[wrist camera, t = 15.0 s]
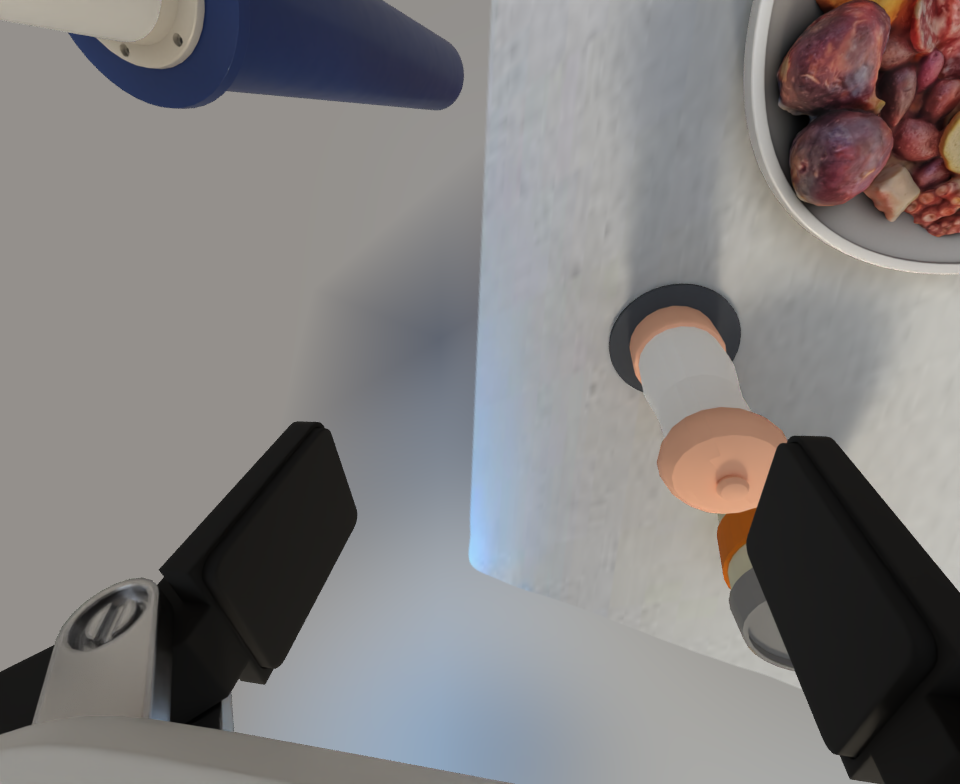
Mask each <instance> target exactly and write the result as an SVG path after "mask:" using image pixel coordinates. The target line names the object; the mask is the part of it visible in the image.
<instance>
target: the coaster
mask: <svg viewBox="0 0 960 784" xmlns="http://www.w3.org/2000/svg"><path fill="white" fill-rule="evenodd" d="M670 306H688V307H691V308H693V309H696V310H699V311H701V312H702V313H703V314H704V315H706V316H707V317H708V318H709V319H710V320H711V322H712V323H713V325H714V326H715V328H716V329H717V331H718V332H719V334H720V336H721V337H722V339H723V341H724V343H725V345H726V353H727V355H728V356H729V358H730V359H731V361H733V359H734V357H735V355H736V353H737V351H738V347H739V344H740V337H741V329H740V323H739V320H738V317H737V314H736V312H735V311H734V309H733V307H732V306H731V305H730V304H729V303H728V301H727V300H726V299H724V298H723V297H722V296H721V295H719V294H718V293H716V292H715V291H713V290H710V289H708V288H706V287H702V286H699V285H693V284H672V285H667V286H662V287H659V288H656V289H653V290H651V291H649V292H647V293H645V294H643V295H641V296H640V297H638V298H637V299H635V300H634V301H633V302H632V303H630V304H629V305H628V306H627V307H626V308H625V309H624V311H623V312H622V313H621V314H620V316H619V317H618V319H617V321H616V322H615V324H614V327H613V329H612V332H611V336H610V342H609V351H610V357H611V361H612V364H613V366H614V368H615V370H616V372H617V373H618V374H619V376H620V377H621V378H622V379H623V380H624V381H625V382H626V383H628V384H629V385H630V386H632V387H633V388H635V389H637V390H639V391H642V392H643V387H642V384H641V383H640V381H639V380H638V378H637V377H636V375H635V371H634V367H633V362H632V358H631V353H630V348H629V347H630V340H631V336H632V334H633V332H634V330H635V328H636V326H637V325H638V324H639V323H640V322H641V321H642V320H643V319H644V318H645V317H646V316H648V315H649V314H651V313H653V312H655V311H657V310H658V309H662V308H666V307H670Z"/></svg>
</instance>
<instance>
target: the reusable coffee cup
mask: <svg viewBox="0 0 960 784" xmlns="http://www.w3.org/2000/svg"><path fill="white" fill-rule="evenodd" d="M756 508H757V507H756ZM756 508H753V509H750V510H746V511H743V512H739V513H728V514H719V513H718V518H719V526H718V530H717V539H718V545H719V551H720V558H721V564H722V570H723V575H724V580H725V582H726V584H727V585H728V587H729V588H730V589H731V591H730V597H729V604H730V609H731V611H732V614H733V616H734V618H735V620H736V623H737V625H738V627H739V629H740V632H741V634H742V636H743V639H744V640H745V642H746V644H747V646H748V647H749V648H750V649H751V650H752V651H753V653H754V654H755V655H757V656H759V657H760V658H762V659H763V660H765V661H767V662H769V663H771V664H773V665H775V666H778V667H781V668H784V669H788V670H791V671H795V670H794V667H793V665H792V662H791V660H790V658H789V655H788V653H787V650H786V648H785V645H784V643H783V640H782V638H781V635H780V633H779V631H778V628H777V626H776V623H775V621H774V618H773V616H772V613H771V611H770V609H769V606H768V604H767V601H766V599H765V596H764V594H763V591H762V589H761V587H760V584H759V582H758V579H757V577H756V574H755V572H754V569H753V567H752V564H751V562H750V560H749V557H748V554H747V548H746V540H747V536H748V533H749V530H750V527H751V524H752V520H753V517H754V514H755V511H756Z"/></svg>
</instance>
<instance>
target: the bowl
mask: <svg viewBox="0 0 960 784" xmlns="http://www.w3.org/2000/svg"><path fill="white" fill-rule="evenodd" d="M743 87H744V105H745V115H746V121H747V128H748V132H749V137H750V141H751V145H752V148H753V151H754V154H755V158H756V160H757V163H758V165H759V168H760V170H761V172H762V174H763V176H764V178H765V180H766V182H767V184H768V186H769V188H770V189H771V191H772V193H773V194H774V196H775V197H776V198H777V200H778V201H779V202H780V204H781V205H782V206H783V208H784V209H785V210H786V211H787V212H788V213H789V214H790V216H791V217H792V218H793V219H794V220H795V221H796V222H798V223H799V224H800V225H801V226H802V227H803V228H804V229H805V230H807V231H808V232H809V233H811V234H812V235H813V236H815V237H816V238H818V239H819V240H821V241H822V242H824V243H825V244H827V245H829V246H831V247H833V248H834V249H836V250H838V251H840V252H842V253H844V254H847V255H849V256H851V257H853V258H856V259H858V260H861V261H864V262H867V263H869V264H873V265H876V266H880V267H884V268H888V269H893V270H898V271H905V272H912V273H923V274H960V0H753V4H752V9H751V13H750V18H749V24H748V30H747V37H746V45H745V55H744V73H743Z"/></svg>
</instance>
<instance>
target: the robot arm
mask: <svg viewBox="0 0 960 784" xmlns="http://www.w3.org/2000/svg"><path fill="white" fill-rule="evenodd" d="M204 13H205V4H204V0H0V20H3V21H9V22H14V23H20V24H25V25H31V26H36V27H42V28H48V29H54V30H59V31H65V32H70V33H75V34H81V35H87V36H92V37H96V38H97V39H98V40H99V41H100V42H101V43H102V44H103V45H104V46H106V47H107V48H108V49H109V50H110V51H111V52H113V53H114V54H116V55H117V56H119V57H120V58H122V59H123V60H126V61H128V62H130V63H132V64H134V65H137V66H142V67H146V68H154V69H166V68H171V67H174V66H176V65H178V64H180V63H182V62H183V61H184V60H186V59H187V58H188V57H189V56H190V55H191V54H192V52H193V50H194V48H195V47H196V45H197V43H198V41H199V38H200V35H201V31H202V28H203V21H204ZM356 521H357V509H356V506H355V504H354V500H353V497H352V494H351V491H350V488H349V485H348V483H347V479H346V476H345V473H344V471H343V467H342V464H341V461H340V458H339V455H338V452H337V450H336V447H335V443H334V441H333V437H332V435H331V432H330V431H329V430H328V429H325V428H324V426H323V425H322V424H321V423H319V422H294V423H292V424H291V425H290V426H289V427H288V428H287V429H286V431H285V432H284V433H283V434H282V435H281V436H280V437H279V438H278V439H277V440H276V441H275V443H274V444H273V445H272V446H271V447H270V448H269V449H268V450H267V451H266V452H265V454H264V455H263V456H262V457H261V458H260V459H259V460H258V461H257V462H256V463H255V465H254V466H253V467H252V468H251V469H250V470H249V471H248V472H247V473H246V474H245V476H244V477H243V478H242V479H241V480H240V481H239V482H238V483H237V485H235V487H234V488H233V489H232V490H231V491H230V492H229V493H228V494H227V495H226V497H225V498H224V499H223V500H222V501H221V502H220V503H219V504H218V505H217V506H216V507H215V509H214V510H213V511H212V512H211V513H210V514H209V515H208V516H207V517H206V518H205V520H204V521H203V522H202V523H201V524H200V525H199V526H198V527H197V529H196V530H195V531H194V532H193V533H192V534H191V535H190V536H189V537H188V538H187V539H186V540H185V542H184V543H183V544H182V545H181V546H180V547H179V548H178V549H177V550H176V551H175V553H174V554H173V555H172V556H171V557H170V558H169V559H168V560H167V561H166V563H165V564H164V565H163V566H162V567H161V568H160V569H159V571H160V572H161V573H162V575H164V578H163V579H162V580H161V581H160V582H159V584H158V585H156V584H155V583H154V582H153V581H152V580H150V579H146V578H136V579H129V580H125V581H123V582H119V583H116V584H114V585H112V586H110V587H108V588H106V589H104V590H102V591H100V592H99V593H97V594H96V595H94V596H93V597H92V598H90V599H89V600H87V601H86V602H85V603H84V604H83V605H81V606H80V607H79V608H78V609H77V610H76V611H75V612H74V613H73V614H72V615H71V616H70V617H69V619H68V620H67V621H66V622H65V624H64V625H63V626H62V628H61V630H60V633H59V634H58V636H57V639H56V641H55V645H53V646H51V647H49V648H47V649H45V650H43V651H42V652H39V653H37V654H35V655H33V656H31V657H29V658H27V659H25V660H23V661H21V662H19V663H17V664H15V665H13V666H11V667H9V668H7V669H5V670H3V671H1V672H0V784H513V783H507V782H502V781H497V780H491V779H486V778H480V777H475V776H470V775H465V774H460V773H454V772H449V771H444V770H438V769H433V768H427V767H422V766H417V765H411V764H406V763H401V762H395V761H389V760H385V759H379V758H374V757H368V756H363V755H357V754H352V753H346V752H341V751H335V750H330V749H325V748H319V747H313V746H308V745H302V744H296V743H292V742H286V741H280V740H275V739H270V738H264V737H258V736H253V735H247V734H242V733H237V732H234V723H233V710H232V695H231V691H232V689H233V688H234V686H235V684H236V682H237V680H238V679H240V680H241V681H245V682H252V683H258V684H266V682H267V680H268V678H269V676H270V674H271V673H272V671H273V669H276V668H277V667H279V666H280V665H281V664H282V663H283V661H284V660H285V658H286V656H287V654H288V652H289V650H290V648H291V647H292V645H293V642H294V641H295V639H296V637H297V635H298V633H299V631H300V629H301V628H302V626H303V624H304V622H305V619H306V618H307V616H308V614H309V612H310V610H311V608H312V607H313V605H314V603H315V601H316V599H317V597H318V595H319V593H320V591H321V590H322V588H323V586H324V584H325V582H326V580H327V578H328V576H329V574H330V572H331V570H332V569H333V566H334V565H335V563H336V561H337V559H338V557H339V555H340V553H341V551H342V550H343V548H344V546H345V544H346V542H347V540H348V538H349V536H350V534H351V533H352V531H353V529H354V527H355V524H356ZM746 548H747V554H748V557H749V560H750V562H751V564H752V567H753V569H754V572H755V574H756V577H757V579H758V582H759V584H760V587H761V589H762V591H763V594H764V596H765V599H766V601H767V604H768V606H769V609H770V611H771V613H772V616H773V618H774V621H775V623H776V626H777V628H778V631H779V633H780V635H781V638H782V640H783V643H784V645H785V648H786V650H787V653H788V655H789V658H790V660H791V662H792V665H793V667H794V670H795V672H796V675H797V677H798V680H799V682H800V684H801V687H802V689H803V692H804V694H805V696H806V699H807V701H808V704H809V707H810V709H811V711H812V714H813V716H814V719H815V721H816V724H817V726H818V728H819V731H820V733H821V736H822V738H823V740H824V742H825V744H826V746H827V747H828V749H829V750H830V751H831V752H832V753H833V754H836V755H840V757H841V759H842V762H843V764H844V766H845V769H846V771H847V773H848V776H849V778H850V779H852V780H858V781H865V782H871V783H877V784H960V593H959V591H958V590H957V589H956V588H955V586H954V585H953V584H952V583H951V582H950V580H949V579H948V578H947V577H946V575H945V574H944V573H943V572H942V571H941V569H940V568H939V567H938V566H937V565H936V563H935V562H934V561H933V560H932V558H931V557H930V556H929V555H928V554H927V552H926V551H925V550H924V549H923V548H922V546H921V545H920V544H919V543H918V541H917V540H916V539H915V538H914V537H913V535H912V534H911V533H910V532H909V531H908V529H907V528H906V527H905V526H904V524H903V523H902V522H901V521H900V520H899V518H898V517H897V516H896V515H895V514H894V512H893V511H892V510H891V509H890V507H889V506H888V505H887V504H886V503H885V501H884V500H883V499H882V498H881V496H880V495H879V494H878V493H877V492H876V490H875V489H874V488H873V487H872V486H871V484H870V483H869V482H868V481H867V479H866V478H865V477H864V476H863V475H862V473H861V472H860V471H859V470H858V469H857V467H856V466H855V465H854V464H853V462H852V461H851V460H850V459H849V458H848V456H847V455H846V454H845V453H844V452H843V450H842V449H841V448H840V447H839V445H838V444H837V443H836V442H835V441H834V440H833V439H832V438H830V437H824V436H792V437H790V438H789V439H788V441H787V443H780V444H779V445H778V447H777V449H776V451H775V454H774V457H773V460H772V463H771V466H770V469H769V472H768V475H767V478H766V481H765V484H764V487H763V490H762V493H761V496H760V499H759V502H758V505H757V508H756V511H755V514H754V517H753V520H752V524H751V527H750V530H749V533H748V536H747V540H746Z"/></svg>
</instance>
